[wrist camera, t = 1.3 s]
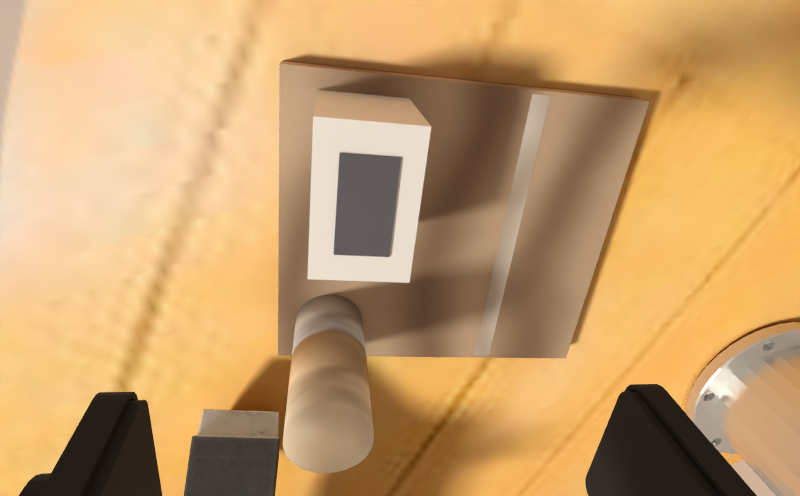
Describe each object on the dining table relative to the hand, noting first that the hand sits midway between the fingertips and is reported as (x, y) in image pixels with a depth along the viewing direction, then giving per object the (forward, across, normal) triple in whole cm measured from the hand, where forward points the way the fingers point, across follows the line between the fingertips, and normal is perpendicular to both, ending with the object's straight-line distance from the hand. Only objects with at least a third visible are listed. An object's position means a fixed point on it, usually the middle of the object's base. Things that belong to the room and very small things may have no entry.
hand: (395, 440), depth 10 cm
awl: (+18, +1, +10) cm, 20 cm away
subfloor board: (+19, -6, +4) cm, 20 cm away
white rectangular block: (+18, 0, 0) cm, 18 cm away
